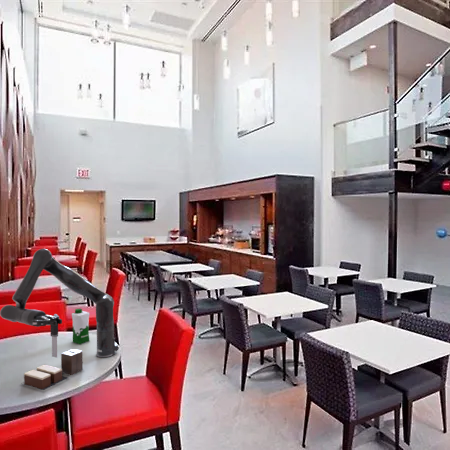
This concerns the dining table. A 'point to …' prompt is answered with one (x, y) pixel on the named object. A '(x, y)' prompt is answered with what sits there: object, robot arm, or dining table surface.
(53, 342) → the knife
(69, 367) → the knife block
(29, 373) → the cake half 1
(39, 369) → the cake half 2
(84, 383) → the dining table surface
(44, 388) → the cake board
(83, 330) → the milk carton
